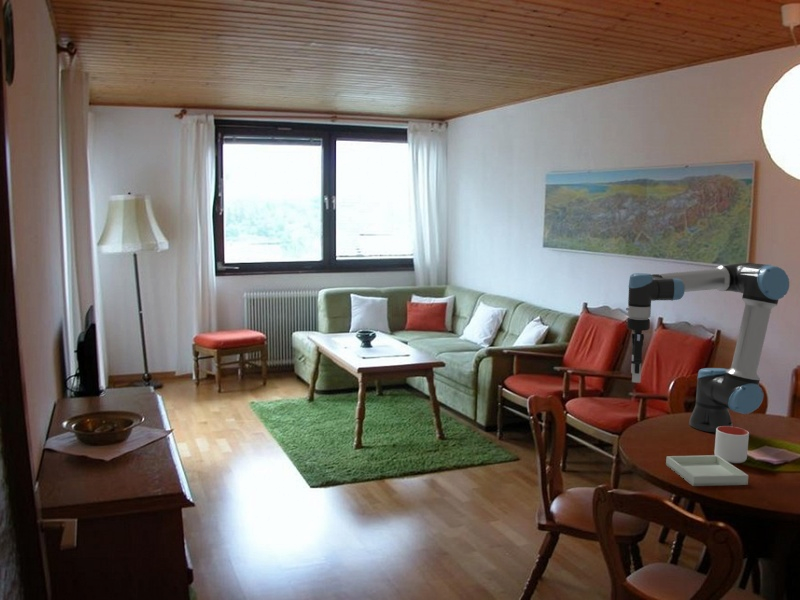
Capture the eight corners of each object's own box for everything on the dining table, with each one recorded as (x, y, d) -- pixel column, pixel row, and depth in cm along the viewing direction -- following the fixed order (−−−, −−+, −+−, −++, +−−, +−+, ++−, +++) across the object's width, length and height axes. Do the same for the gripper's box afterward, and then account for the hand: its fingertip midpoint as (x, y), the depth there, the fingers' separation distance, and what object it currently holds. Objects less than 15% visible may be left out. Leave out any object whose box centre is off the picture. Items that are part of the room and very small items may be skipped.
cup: (744, 466, 234) (747, 437, 233) (711, 460, 239) (714, 431, 238) (748, 457, 243) (750, 429, 241) (716, 451, 248) (718, 424, 246)
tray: (716, 463, 236) (717, 455, 236) (747, 484, 219) (748, 475, 218) (665, 465, 234) (666, 456, 234) (693, 486, 217) (693, 476, 216)
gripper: (626, 312, 260) (623, 368, 263) (628, 323, 236) (624, 385, 239) (648, 313, 258) (645, 370, 261) (652, 324, 234) (648, 387, 237)
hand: (635, 377), depth 250 cm, fingers open, 13 cm apart
